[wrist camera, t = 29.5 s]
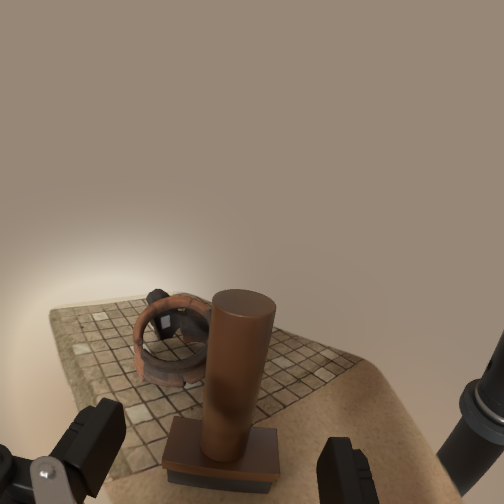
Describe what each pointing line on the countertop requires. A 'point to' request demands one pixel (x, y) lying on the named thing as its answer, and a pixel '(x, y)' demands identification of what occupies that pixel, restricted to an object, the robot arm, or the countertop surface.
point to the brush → (229, 404)
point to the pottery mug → (165, 325)
